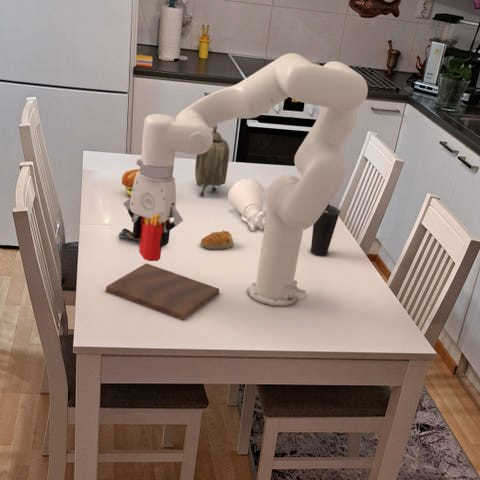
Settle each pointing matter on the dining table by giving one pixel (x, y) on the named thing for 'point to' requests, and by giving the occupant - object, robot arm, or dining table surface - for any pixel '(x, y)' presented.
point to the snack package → (127, 234)
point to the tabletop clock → (213, 163)
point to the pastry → (218, 240)
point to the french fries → (150, 238)
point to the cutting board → (163, 291)
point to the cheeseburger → (129, 180)
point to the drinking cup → (324, 230)
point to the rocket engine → (248, 201)
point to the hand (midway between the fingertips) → (150, 240)
